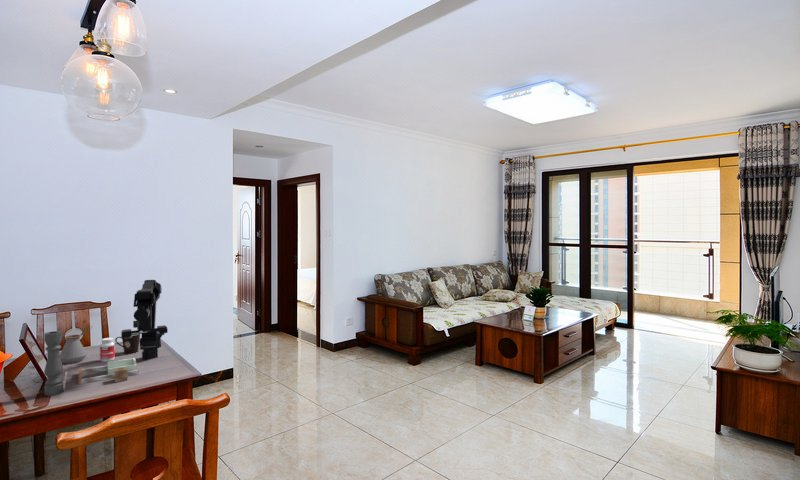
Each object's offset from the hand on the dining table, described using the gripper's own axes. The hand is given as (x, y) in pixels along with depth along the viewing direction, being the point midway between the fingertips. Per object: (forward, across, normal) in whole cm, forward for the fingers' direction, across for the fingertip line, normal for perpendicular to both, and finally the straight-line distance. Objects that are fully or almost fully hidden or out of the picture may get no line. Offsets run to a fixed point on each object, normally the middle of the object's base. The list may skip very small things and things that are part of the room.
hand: (144, 349), depth 202 cm
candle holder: (+10, +33, +11) cm, 36 cm away
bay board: (+10, +14, 0) cm, 17 cm away
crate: (+9, +9, 0) cm, 13 cm away
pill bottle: (+10, +15, -28) cm, 34 cm away
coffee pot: (+10, +27, -40) cm, 49 cm away
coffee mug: (+10, +5, -39) cm, 40 cm away
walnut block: (+10, +10, +12) cm, 19 cm away
